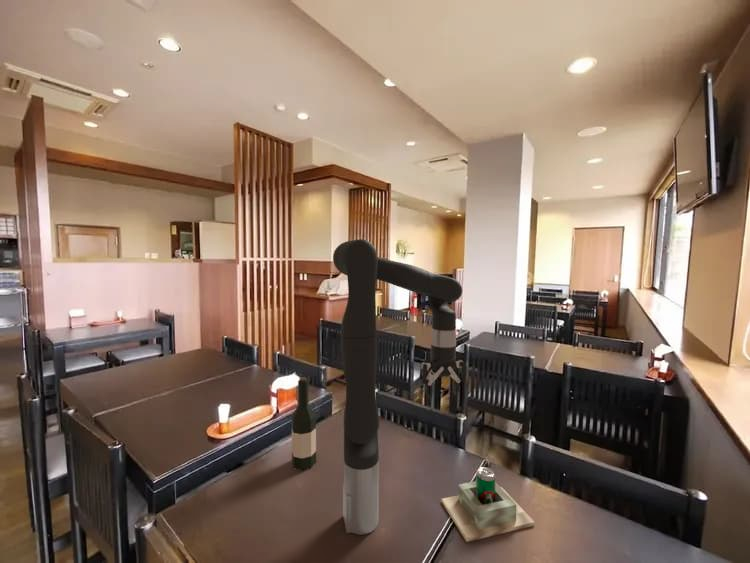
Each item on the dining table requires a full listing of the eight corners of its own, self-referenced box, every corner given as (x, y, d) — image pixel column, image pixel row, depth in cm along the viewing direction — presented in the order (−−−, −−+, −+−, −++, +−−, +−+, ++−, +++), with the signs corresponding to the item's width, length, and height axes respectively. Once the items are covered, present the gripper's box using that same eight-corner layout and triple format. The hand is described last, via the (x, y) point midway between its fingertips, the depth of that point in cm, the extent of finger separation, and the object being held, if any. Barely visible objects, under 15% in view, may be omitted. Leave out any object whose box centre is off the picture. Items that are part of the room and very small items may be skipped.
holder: (466, 541, 81) (466, 520, 80) (441, 501, 94) (441, 483, 94) (534, 525, 86) (534, 505, 85) (501, 489, 99) (501, 472, 99)
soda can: (479, 503, 93) (480, 463, 93) (497, 512, 90) (498, 470, 90) (472, 514, 90) (473, 472, 89) (491, 523, 86) (491, 480, 86)
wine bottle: (321, 462, 113) (320, 378, 111) (301, 473, 107) (299, 384, 105) (307, 452, 119) (306, 372, 117) (287, 463, 113) (285, 378, 111)
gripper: (426, 347, 94) (425, 402, 95) (470, 345, 97) (469, 398, 98) (417, 341, 101) (416, 392, 102) (458, 339, 104) (457, 388, 105)
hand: (442, 395), depth 100 cm, fingers open, 8 cm apart
